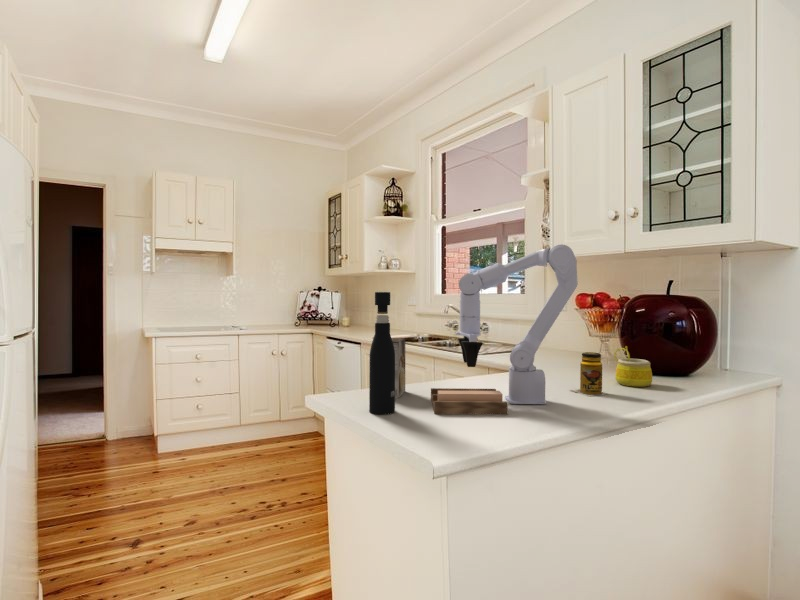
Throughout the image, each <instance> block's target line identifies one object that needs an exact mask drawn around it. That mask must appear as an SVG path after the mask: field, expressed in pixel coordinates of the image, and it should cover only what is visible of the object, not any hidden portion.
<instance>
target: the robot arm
mask: <svg viewBox="0 0 800 600" xmlns="http://www.w3.org/2000/svg"><path fill="white" fill-rule="evenodd" d="M577 260H578V259H577V258H576V256H575V254H574V251H573V249H572V248H571V247H570V246H569V245H566V244H556V245H555V246H552V248H551V247H546V248H543V249H539V250H537V251H534V252H532V253H529V254H526V255H524V256H523V257H520V258H517V259H515V260H513V261H511V262H509V263H505V264H502V263H500V262H496V263H494V262H490V263H488V266H486V267H484V268H481V269H479V270H477V269H474V270H472V273H470V272H469V273H466V274H464V275H463V276H461V277H460V278H459V280H458V288H459V290H460V294H459V295H460V296H459V297H460V299H459V331H456V332H455V335H456V336H462V337H459V338H457V341H458V342H459V345H460V348H461V354H462V359H463V362H464V363H466V367H467V368H476V366H477V362H478V357H479V353H480V350H481V348H482V346H483V345H484V344H483V342H482V341H478V337H480V336H481V334H482V333H481V300H480V296H481V293H480V291H481V290H487V289H488V290H489V289H490V288H493V287H495V286H498V285H501V284H503V283H505V282H507V280H508V277H509V276H510V275H513V274H517V273H519V272H522V271H525V270H527V269H531V268H533V267H535V266H536V267H537V266H539V267H547V266H548V265H549V266H550V268H551V269H552V271H554V274H555V278H556V281H557V285H556V287H555V288H554V290H553V291H552V293H551V294H550V296H549V297H548V299H547V300H546V302H545V304H544V306H543V307H542V309H541V310H540V312H539V313H538V315H537V317H536V318H535V320H534V322H533V323H532V325H531V326H530V328H529V329H528V331H527V332H526V334H525V335H524V337H523V338H522V339H521V341H520V342H518V343H517V344H516V345H514V346H513V347H512V349H511V352H510V354H509V361H510V364H511V365H510V366H508V395H504V398H505V399H506V401H507V402H509V404H510V405H546V404H547V402H546V375H545V371H544V370H543V369H537V366H535V365H534V362H535V355H536V353H537V351H538V350H539V348H540V346H541V344H542V342H543V340H544V339H545V338H546V336H547V334H548V333H549V332H550V330H551V329H552V326H553V325H554V323H555V322H556V320H557V319H558V317H559V315H560V314H561V312H562V310H563V309H564V308H565V307H566V305H567V303H568V302H569V300H570V298H571V297H572V295H573V294H574V292H575V290H576V289H577V288H578V282H579V281H578V266H577V263H578V261H577Z"/></svg>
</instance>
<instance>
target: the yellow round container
mask: <svg viewBox="0 0 800 600" xmlns="http://www.w3.org/2000/svg"><path fill="white" fill-rule="evenodd" d="M621 350H623V352H622V351H621ZM617 352H618V353H619V354H617ZM621 352H622V353H621ZM625 352H626V354H627V355H624V354H625ZM617 357H620V358H619V359H617ZM625 357H627V358H625ZM614 359H615V361H616V362H617V365H616V369H615V376H614V377H615V382H617V383H618V384H620V385H622V386H626V387H632V388H634V387H635V388H645V387H650V386H651V385H652V383H653V372H652V368H651V364H652V363H651V361H649V360H646V359H640V358H631V356H630V352H629V351H628V346H627V345H625V347H619V348H617V349H616V350H615V351H614Z"/></svg>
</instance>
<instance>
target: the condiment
mask: <svg viewBox="0 0 800 600" xmlns="http://www.w3.org/2000/svg"><path fill="white" fill-rule="evenodd" d="M579 373H580V374H579V375H580V377H579V378H580V379H579V380H580V381H579V382H580V383H579V385H580V387H579V388H578V389H570V390H569V391H572V392H576V393H578V394H581V395H584V396H587V397H588V396H589V397H595V396H605V395H609V393H608V392H607V393H606V392H604V391H603V362H602V355H601V353H599V352H594V351H593V352H592V351H591V352H590V351H589V352H588V351H587V352H582V353H581V362H580V372H579Z"/></svg>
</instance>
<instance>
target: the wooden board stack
mask: <svg viewBox="0 0 800 600" xmlns="http://www.w3.org/2000/svg"><path fill="white" fill-rule="evenodd" d="M438 391H497V389H496V388H452V387H451V388H450V387H449V388H442V387H441V388H438V387H437V388H435V387H433V388H430V401H431V405H432V408H433V409H432V410H433V413H434V415H501V416H502V415H508V407H509V405H508V402H509V401H508V400H506V401H505V400H504V401H503V400H502V401H438Z"/></svg>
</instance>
